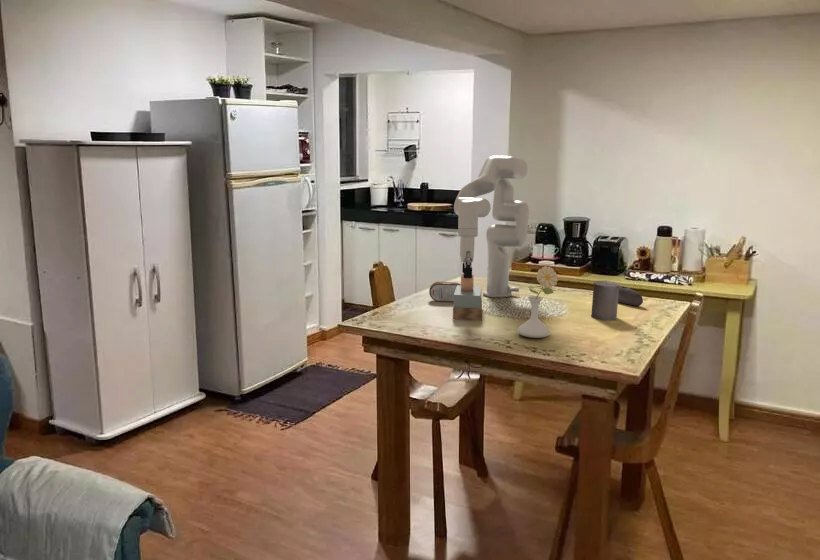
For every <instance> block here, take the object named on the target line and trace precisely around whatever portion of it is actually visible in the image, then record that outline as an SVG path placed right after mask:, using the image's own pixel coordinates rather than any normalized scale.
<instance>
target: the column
mask: <svg viewBox="0 0 820 560" xmlns="http://www.w3.org/2000/svg"><path fill="white" fill-rule="evenodd" d="M460 284H461V291H473V289H474V286H475V285H474V274H472V278H464V273H463V274H460Z"/></svg>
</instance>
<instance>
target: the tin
mask: <svg viewBox="0 0 820 560" xmlns="http://www.w3.org/2000/svg"><path fill="white" fill-rule="evenodd" d="M457 285H461V283H459V282H456V281H455V282H454V281H453V282H452V281H435V282H433V283H432V284H431V285H430V286H429V290H428V291H429V293H428V294H429V296H430V298H431V299H432V300H433V301H435V302H440V303H443V302H444V303H454V293H455V290H456V287H457Z"/></svg>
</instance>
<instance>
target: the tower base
mask: <svg viewBox="0 0 820 560" xmlns="http://www.w3.org/2000/svg"><path fill="white" fill-rule="evenodd" d="M482 298H483V297H481V304H480V309H478V308H454V304H453V306H452V320H453V319H455V320H454V321H459V320H460V321H482V320H483V301H482Z"/></svg>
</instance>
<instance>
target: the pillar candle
mask: <svg viewBox="0 0 820 560" xmlns="http://www.w3.org/2000/svg"><path fill="white" fill-rule="evenodd" d="M619 286H620V284H619V282H616V281H610V280H607V279H605V280H596V281H595V280H594V282H593V288H592V289H593V290H592V300H591V301H592V302H591V304H592V305H591V314H590V316H591V318H593V319H595V320H600V321H615V320H617V315H618V307H619V306H618V304H619V302H618V294H619Z"/></svg>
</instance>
